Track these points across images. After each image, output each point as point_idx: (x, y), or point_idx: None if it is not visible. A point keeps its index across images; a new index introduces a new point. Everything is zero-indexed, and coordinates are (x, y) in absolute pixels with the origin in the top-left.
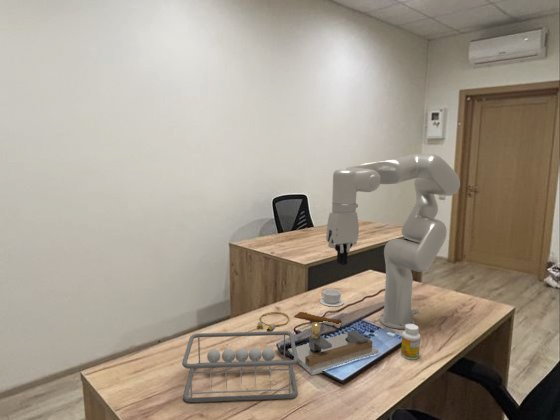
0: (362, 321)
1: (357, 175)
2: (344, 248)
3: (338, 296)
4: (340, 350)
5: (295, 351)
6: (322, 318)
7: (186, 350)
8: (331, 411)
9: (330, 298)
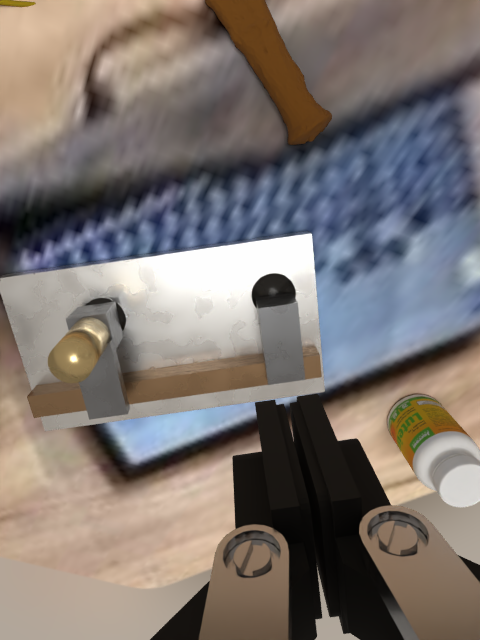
0: (449, 112)
1: None
2: (383, 623)
3: None
4: (169, 398)
5: None
6: (257, 44)
7: None
8: (50, 557)
9: None
